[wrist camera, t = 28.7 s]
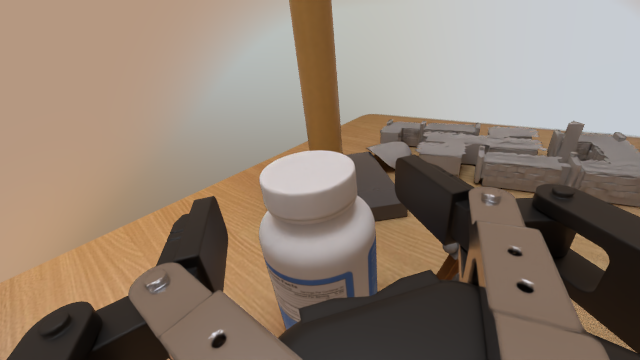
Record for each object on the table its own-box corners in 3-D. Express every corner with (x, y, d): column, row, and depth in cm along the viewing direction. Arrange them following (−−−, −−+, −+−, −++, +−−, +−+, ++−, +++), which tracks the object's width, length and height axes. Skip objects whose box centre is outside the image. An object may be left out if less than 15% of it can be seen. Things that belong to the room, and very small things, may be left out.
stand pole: (341, 171, 29) (310, -223, 16) (347, 185, 26) (314, -281, 13) (312, 175, 29) (258, -219, 16) (315, 189, 26) (252, -276, 13)
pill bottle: (331, 266, 19) (315, 136, 14) (397, 314, 15) (403, 158, 11) (266, 318, 16) (220, 174, 11) (329, 394, 12) (297, 223, 8)
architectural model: (383, 137, 41) (384, 104, 38) (607, 153, 29) (628, 106, 26) (354, 169, 32) (353, 128, 30) (658, 211, 20) (695, 148, 18)
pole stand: (370, 162, 34) (369, 151, 33) (407, 216, 23) (408, 202, 22) (276, 175, 33) (274, 164, 32) (270, 237, 22) (267, 223, 22)
